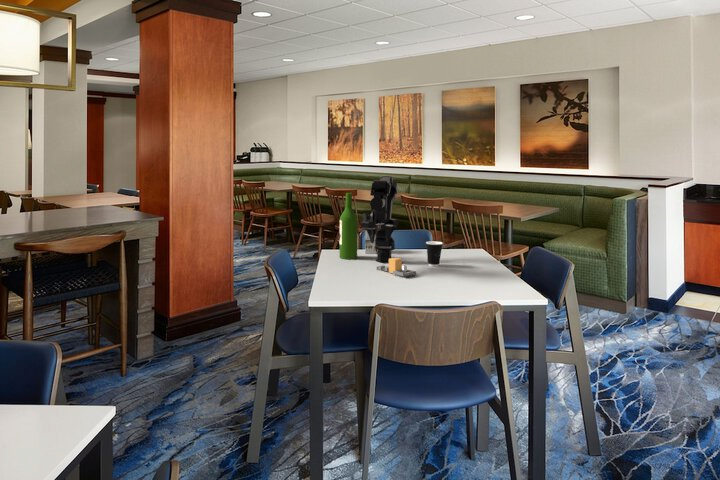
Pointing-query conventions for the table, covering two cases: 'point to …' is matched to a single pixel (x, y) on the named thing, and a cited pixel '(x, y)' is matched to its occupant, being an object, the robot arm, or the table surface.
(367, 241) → the coffee box
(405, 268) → the keeper
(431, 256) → the dixie cup
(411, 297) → the table surface
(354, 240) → the wine bottle
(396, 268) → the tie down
